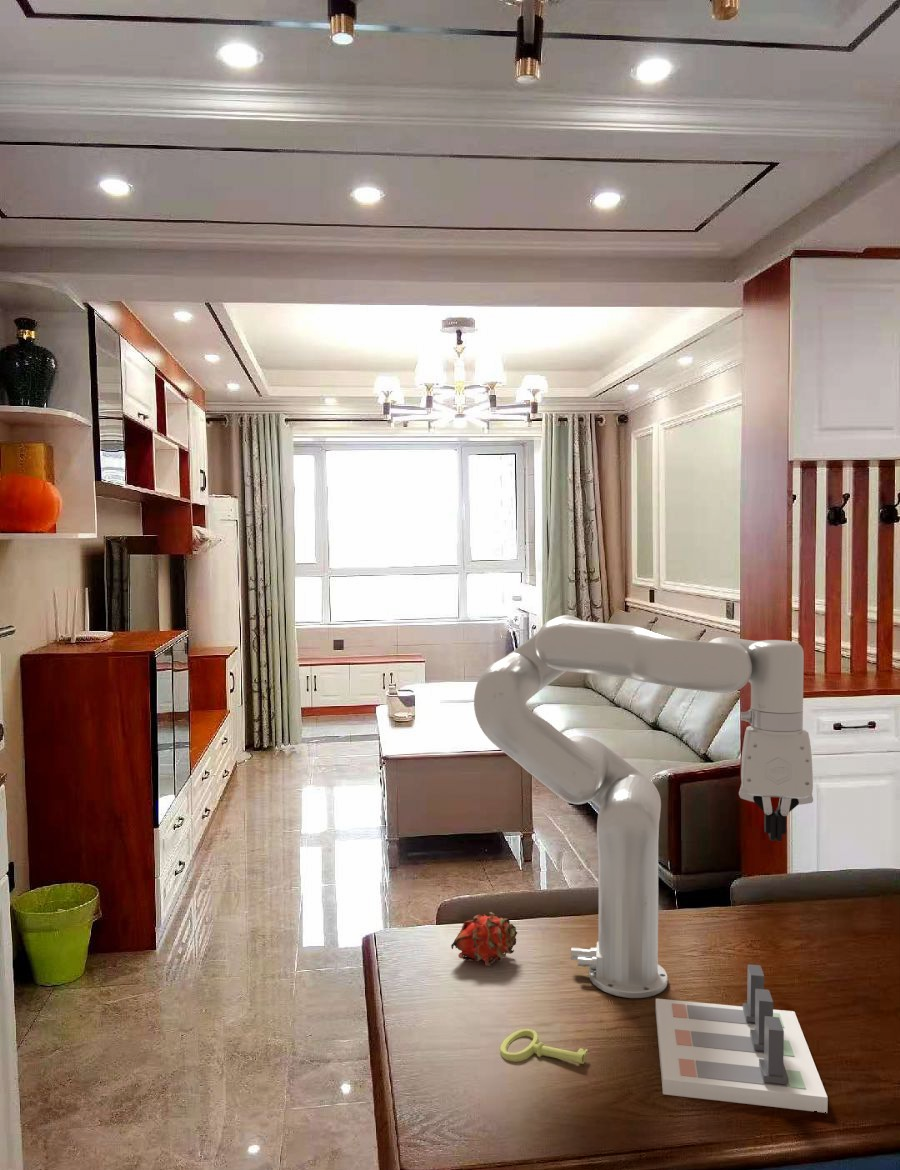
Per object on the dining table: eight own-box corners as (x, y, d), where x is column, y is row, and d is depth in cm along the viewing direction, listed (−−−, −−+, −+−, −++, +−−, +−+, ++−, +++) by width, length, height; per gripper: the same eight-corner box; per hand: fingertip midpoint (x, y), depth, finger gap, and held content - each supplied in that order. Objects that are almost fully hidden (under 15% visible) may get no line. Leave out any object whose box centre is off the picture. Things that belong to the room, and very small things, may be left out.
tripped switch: (763, 1081, 109) (764, 1029, 109) (758, 1064, 113) (759, 1014, 112) (788, 1084, 109) (789, 1032, 108) (782, 1067, 112) (783, 1016, 112)
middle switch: (754, 1049, 116) (754, 1001, 116) (750, 1034, 120) (750, 987, 119) (777, 1052, 116) (778, 1003, 115) (772, 1037, 119) (773, 989, 119)
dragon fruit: (523, 966, 147) (457, 985, 144) (507, 921, 154) (443, 939, 151) (528, 941, 142) (459, 961, 139) (510, 896, 148) (444, 914, 145)
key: (587, 1073, 116) (587, 1057, 116) (497, 1063, 118) (497, 1047, 118) (589, 1043, 123) (589, 1028, 123) (504, 1034, 125) (504, 1020, 125)
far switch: (746, 1021, 123) (746, 975, 123) (742, 1008, 126) (743, 963, 126) (768, 1023, 122) (768, 977, 122) (763, 1010, 126) (764, 965, 126)
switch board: (662, 1094, 110) (663, 1078, 110) (655, 1011, 130) (655, 997, 130) (827, 1112, 107) (827, 1096, 107) (794, 1024, 126) (794, 1010, 126)
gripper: (727, 723, 130) (725, 842, 130) (833, 728, 126) (831, 850, 127) (724, 714, 137) (723, 826, 138) (824, 718, 133) (822, 834, 134)
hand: (775, 837), depth 132 cm, fingers closed
